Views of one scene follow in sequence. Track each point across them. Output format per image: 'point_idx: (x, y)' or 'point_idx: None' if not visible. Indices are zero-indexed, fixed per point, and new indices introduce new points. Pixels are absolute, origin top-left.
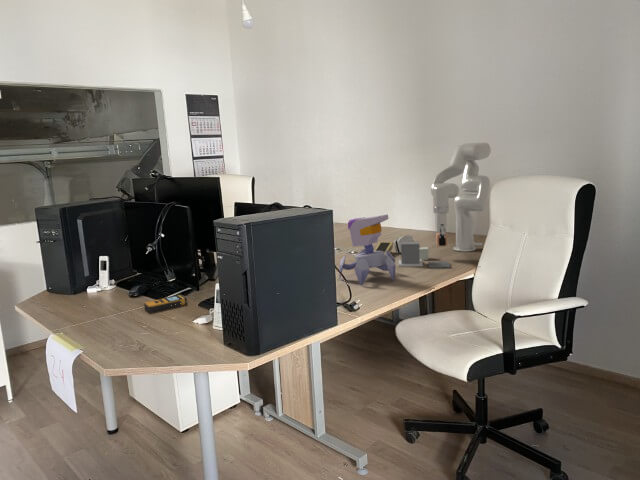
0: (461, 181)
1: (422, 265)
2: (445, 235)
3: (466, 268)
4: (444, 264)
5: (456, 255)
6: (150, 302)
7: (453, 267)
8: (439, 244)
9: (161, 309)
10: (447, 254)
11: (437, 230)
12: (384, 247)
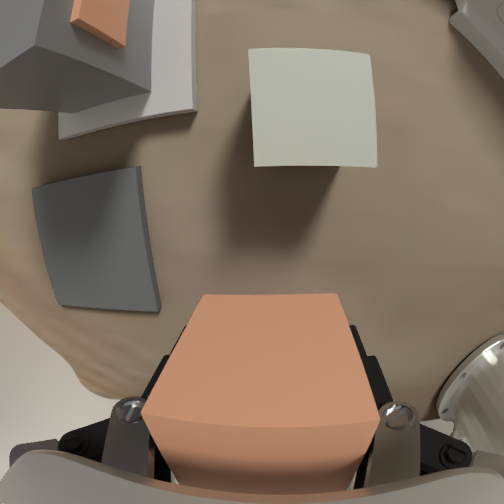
0: None
1: (65, 137)
2: (183, 481)
3: (81, 364)
4: (86, 280)
5: (384, 360)
6: None
7: (78, 317)
8: (181, 333)
9: None
10: (424, 312)
11: (6, 472)
12: None
